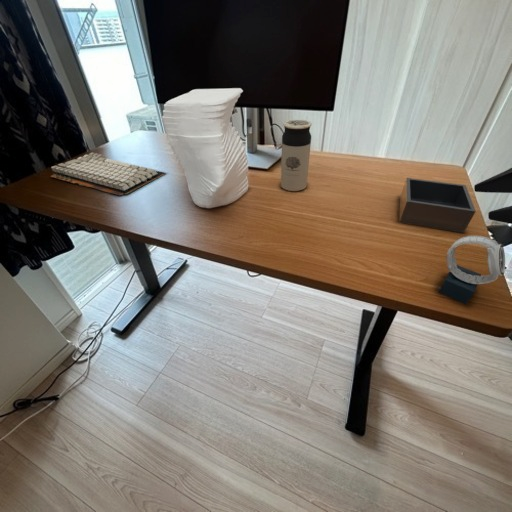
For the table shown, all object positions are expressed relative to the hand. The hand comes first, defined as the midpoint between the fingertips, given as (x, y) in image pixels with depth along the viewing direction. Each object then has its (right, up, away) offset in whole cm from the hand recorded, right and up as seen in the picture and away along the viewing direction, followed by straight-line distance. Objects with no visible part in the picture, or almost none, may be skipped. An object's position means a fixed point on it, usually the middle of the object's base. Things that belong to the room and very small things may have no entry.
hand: (481, 201), depth 40 cm
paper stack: (-47, +10, +40) cm, 62 cm away
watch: (+3, -14, +9) cm, 17 cm away
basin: (+11, +3, +29) cm, 31 cm away
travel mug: (-22, +13, +43) cm, 50 cm away
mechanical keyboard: (-86, +20, +54) cm, 104 cm away
